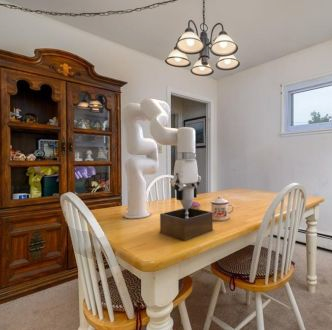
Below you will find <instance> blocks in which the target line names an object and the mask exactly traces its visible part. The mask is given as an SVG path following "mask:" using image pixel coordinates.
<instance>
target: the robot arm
mask: <svg viewBox="0 0 332 330" xmlns="http://www.w3.org/2000/svg"><path fill="white" fill-rule="evenodd" d="M170 113H171V108H170V106H169V104H168V102H166V101H163V100H160V99H156V98H150V97H147V98H143V99H142V100H141V101H140V103H137V102H127V103H125V104H124V105H123V106H122V109H121V119H122V123H123V126H124V129H125V141H126V150H127V151H126V152H127V153H128V154H130V155H133V156H134V157H129V158H127V160H126V161H125V163H124V169H125V174H126V183H127V185H126V186H127V187H126V188H127V189H126V191H127V207H126V211H127V212H126V213H124V218H126V219H130V220H131V219H143V218H146V217H148V216H150V215H151V213H150V211H148V197H147V196H148V194H147V193H148V192H147V185H148V184H147V180H146V179H145V177H144V176H146V175H155V174H157V173H158V171H159V168H160V161H159V150H158V149H159V148H158V144H159V145H162V146H175V147H176V150H177V151H176V152H177V153H176V154H177V155H176V156H177V157H176V158H177V159H176V160H175V162H174V167H173V177H172V179H171V180H170V181H169V183H170V184H171V186H172V188H173V189H174V191H175V197H176V200H177V201H180V200H183V191H181V189H182V187H183V186H184V185H189V186H194V187H195V188H194V199H195V198H197V196H198V194H197V193H198V192H197V189H198V188H199V185H200V183H201V181H202V178H201V176H200V175H199V169H198V162H197V159H196V158H197V154H196V129H195V128H193V127H189V126H188V127H187V126H183V127H178V128H174V127H166V125H167V124H168V122H169V119H170V117H169V115H170ZM138 121H142V122H149V133H150V135H151V137H152V138H149V137H145V136H144V131H143V127H142V126H141V124H140V123H139V122H138ZM157 143H158V144H157ZM135 156H137V157H135ZM138 156H139V157H138ZM140 156H142V157H140ZM144 156H145V157H144Z"/></svg>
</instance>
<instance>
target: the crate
mask: <svg viewBox="0 0 332 330" xmlns="http://www.w3.org/2000/svg"><path fill="white" fill-rule="evenodd" d="M185 212H186V209H184V208H183V207H182V208H178V209H174V210H170V211H166V212H161V213H159V234H163V235H166V236H169V237H172V238H175V239H178V240H181V241H184V242H186V241H189V240H191V239H194V238H196V237H199V236H202V235H204V234H206V233H207V234H208V233H209V232H212V231H213V229H214V227H213V226H214V224H213V222H214V220H213V212H211V211H208V210H204V209H194V208H189V209H188V213H189V214H188V217H189V218H188V219H185V217H186V215H185Z"/></svg>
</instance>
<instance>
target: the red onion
mask: <svg viewBox="0 0 332 330" xmlns="http://www.w3.org/2000/svg"><path fill="white" fill-rule="evenodd" d="M201 206H202V205H201V204H200V203H199V202H198V201H193V202H192V205H191V207H190V208H194V209H199V210H201V208H202V207H201Z"/></svg>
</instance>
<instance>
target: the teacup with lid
mask: <svg viewBox="0 0 332 330" xmlns="http://www.w3.org/2000/svg"><path fill="white" fill-rule="evenodd" d="M210 205H211V206H210V208H211V209H210V212H213V221H217V222H218V221H219V222H220V221H226V220H228V219H229V215H230V214H232V213H233V212H234V210H235V206H234V205H233V204H232V203H229V200H227V199H225V198H223V196H222V195H218V196H217V197H216V198H215V199H212V200H211V201H210ZM229 206H230V207H232V208H231V210H230V211H229Z"/></svg>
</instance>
